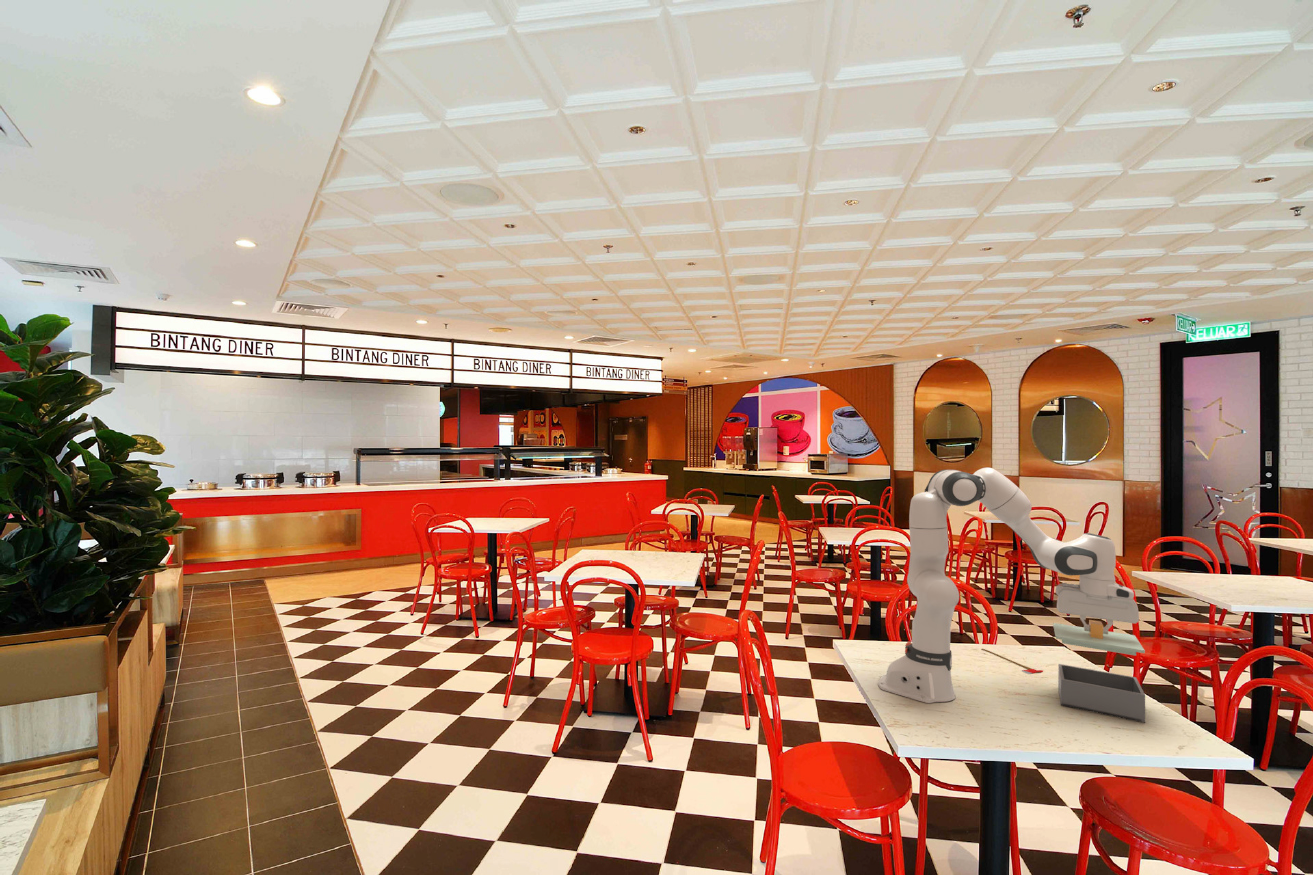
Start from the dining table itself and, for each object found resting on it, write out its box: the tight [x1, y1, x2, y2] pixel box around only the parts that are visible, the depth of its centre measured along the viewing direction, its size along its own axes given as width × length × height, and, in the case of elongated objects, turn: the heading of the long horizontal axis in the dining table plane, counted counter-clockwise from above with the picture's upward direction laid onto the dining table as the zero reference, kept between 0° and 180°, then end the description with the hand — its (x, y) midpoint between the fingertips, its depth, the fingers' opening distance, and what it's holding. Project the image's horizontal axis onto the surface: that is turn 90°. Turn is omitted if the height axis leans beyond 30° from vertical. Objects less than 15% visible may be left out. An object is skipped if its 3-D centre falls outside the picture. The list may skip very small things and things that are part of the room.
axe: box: [980, 648, 1044, 675], centre depth 219 cm, size 26×1×10 cm
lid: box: [1052, 619, 1146, 656], centre depth 181 cm, size 21×17×6 cm
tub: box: [1057, 663, 1146, 724], centre depth 182 cm, size 20×16×8 cm
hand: (1095, 632), depth 181 cm, fingers closed on lid, 3 cm apart
